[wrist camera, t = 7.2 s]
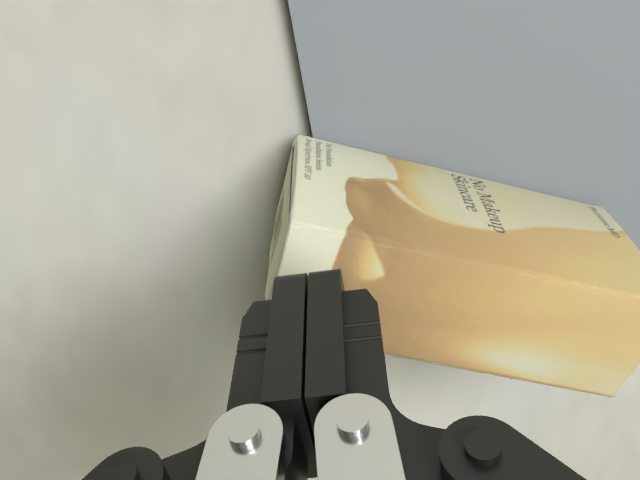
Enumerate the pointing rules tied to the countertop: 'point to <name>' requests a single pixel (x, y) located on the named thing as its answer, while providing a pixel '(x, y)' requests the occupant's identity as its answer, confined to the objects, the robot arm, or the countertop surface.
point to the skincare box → (466, 266)
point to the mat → (484, 90)
